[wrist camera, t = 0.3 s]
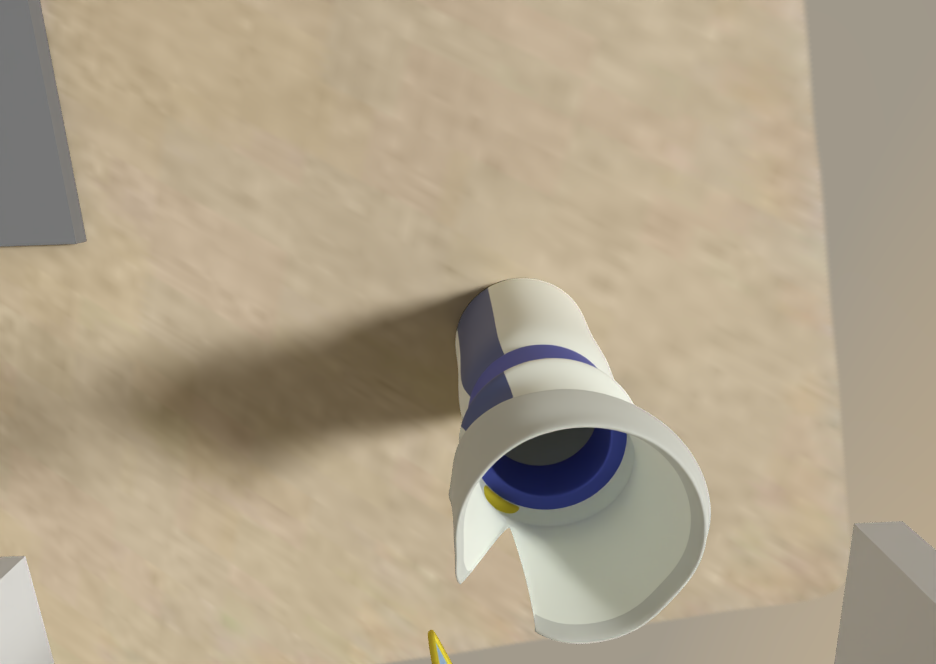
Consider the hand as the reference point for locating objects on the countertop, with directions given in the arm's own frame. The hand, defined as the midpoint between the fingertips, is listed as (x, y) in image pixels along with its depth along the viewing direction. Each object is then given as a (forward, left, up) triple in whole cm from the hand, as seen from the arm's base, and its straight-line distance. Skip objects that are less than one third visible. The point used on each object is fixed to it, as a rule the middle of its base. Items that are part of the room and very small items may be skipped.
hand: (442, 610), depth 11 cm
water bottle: (+4, +4, -27) cm, 28 cm away
